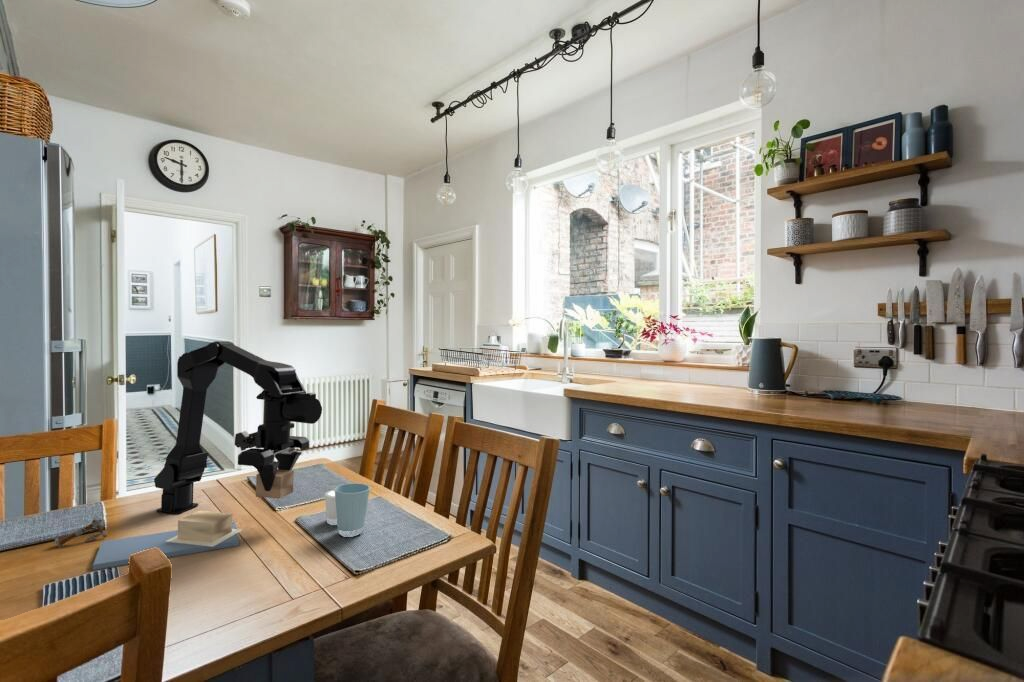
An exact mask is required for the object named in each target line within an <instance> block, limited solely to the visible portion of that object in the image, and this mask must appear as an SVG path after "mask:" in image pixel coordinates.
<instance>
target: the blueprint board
mask: <svg viewBox="0 0 1024 682" xmlns="http://www.w3.org/2000/svg"><path fill="white" fill-rule="evenodd" d="M240 532H243V529H237V526H236V521H232V532H230V533H229V534H227V535H225V536H223V537H221V538H220V539H218V540H216V541H214V542H212V543H210V542H200V541H191V540H181V539H177V537H178V529H177V530H169V531H165V532H164V531H163V532H155V533H149V534H143V535H136V536H129V537H122V538H117V539H115V538H114V539H109V540H103V541H102V542H101V544H100V545H99V549H98V551H97V554H96V557H95V558H94V561H93V564H92V571H97V570H103V569H107V568H108V567H109V568H113V567H119V566H120V567H121V566H125V565H129V564H128V562H129V557H130V555H131V554H134V553H137V552H140V551H143V550H147V549H151V548H154V547H157V548H159V549H160V550H161V551H162V552H163V553H164V554H165V555H166V556H167V558H172V557H178V556H184V555H191V554H195V553H202V552H208V551H213V550H219V549H224V548H231V547H236V546H240V538H239V534H238V533H240ZM171 556H172V557H171Z"/></svg>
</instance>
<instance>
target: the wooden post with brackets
mask: <svg viewBox="0 0 1024 682" xmlns="http://www.w3.org/2000/svg"><path fill="white" fill-rule="evenodd" d="M103 522H104V518H97V519H93V520H92V521H91V523H90V524H88V525H87V526H83V527H82V528H80V529H77V530H75V531H74V532H73V533H71V534H68V535H66V536H64V537H62V538H59V537H57V538H56V537H55V538H54V542H55V544H56V546H57V547H58V549H61V548H63V547H62V546H63V545H65V544H66V543H68V542H70V540H73V539H74V538H75V537H79V536H81V535H82V534H85V533H87V531H89V530H92V531H98V532H99V533H96V534H93V533H92V535H91V536H88V537H87V538H86V539H85V540H84V542H85V543H88V542H89V543H90V542H92V541H96V540H97V538H98V537H99V536H102V537H103V538H105V539H106V537H107V536H108V535H107V534H106V533H107V532H106V531H105V530H104V529H103V527H102V526H101V524H102V523H103Z"/></svg>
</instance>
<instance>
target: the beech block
mask: <svg viewBox="0 0 1024 682" xmlns="http://www.w3.org/2000/svg"><path fill="white" fill-rule="evenodd" d="M232 522H233V513H231V512H229V513H228V512H219V511H209V510H208V511H206V510H198V511H195V512H194V513H191V514H189V515H186V516H184V517H183V518H180V519H178V520H177V530H178V537H177V539H181V540H191V541H200V542H210V543H212V542H214V541H216V540H218V539H220V538H221V537H223V536H225V535H227V534H229V533H230V532H232Z"/></svg>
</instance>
